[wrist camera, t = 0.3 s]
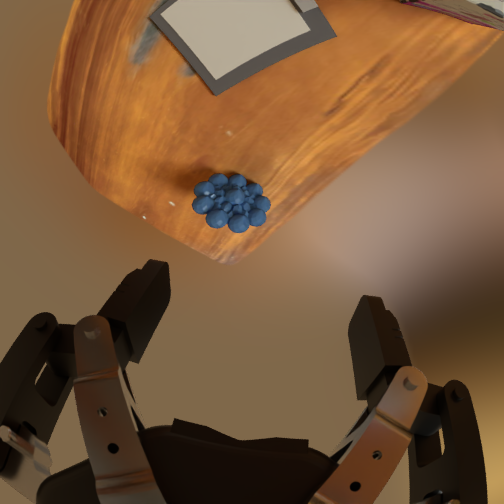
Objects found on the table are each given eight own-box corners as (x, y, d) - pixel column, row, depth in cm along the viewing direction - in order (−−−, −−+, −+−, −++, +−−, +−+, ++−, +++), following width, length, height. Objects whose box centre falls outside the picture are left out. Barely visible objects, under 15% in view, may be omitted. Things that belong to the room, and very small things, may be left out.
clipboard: (151, 16, 23) (145, 17, 22) (264, -57, 14) (262, -60, 13) (217, 95, 32) (213, 98, 31) (336, 36, 23) (338, 36, 22)
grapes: (200, 182, 45) (174, 231, 37) (213, 151, 40) (184, 199, 32) (262, 209, 47) (249, 263, 40) (280, 182, 42) (269, 236, 35)
